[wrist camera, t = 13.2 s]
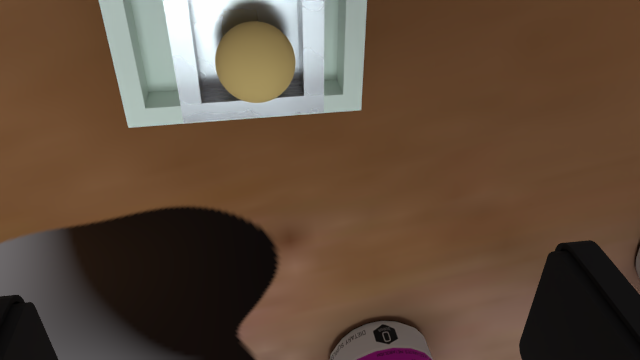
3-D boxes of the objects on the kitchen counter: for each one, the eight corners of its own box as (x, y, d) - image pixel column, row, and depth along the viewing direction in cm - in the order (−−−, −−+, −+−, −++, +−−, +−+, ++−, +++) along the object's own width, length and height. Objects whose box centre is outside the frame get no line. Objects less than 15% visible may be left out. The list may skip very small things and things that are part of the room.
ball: (282, -2, 20) (306, 48, 19) (283, 61, 23) (305, 110, 21) (202, 11, 20) (220, 63, 18) (212, 74, 22) (228, 126, 20)
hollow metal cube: (297, -74, 25) (324, -31, 19) (299, 43, 28) (323, 112, 22) (172, -70, 24) (159, -24, 18) (189, 50, 27) (183, 123, 21)
